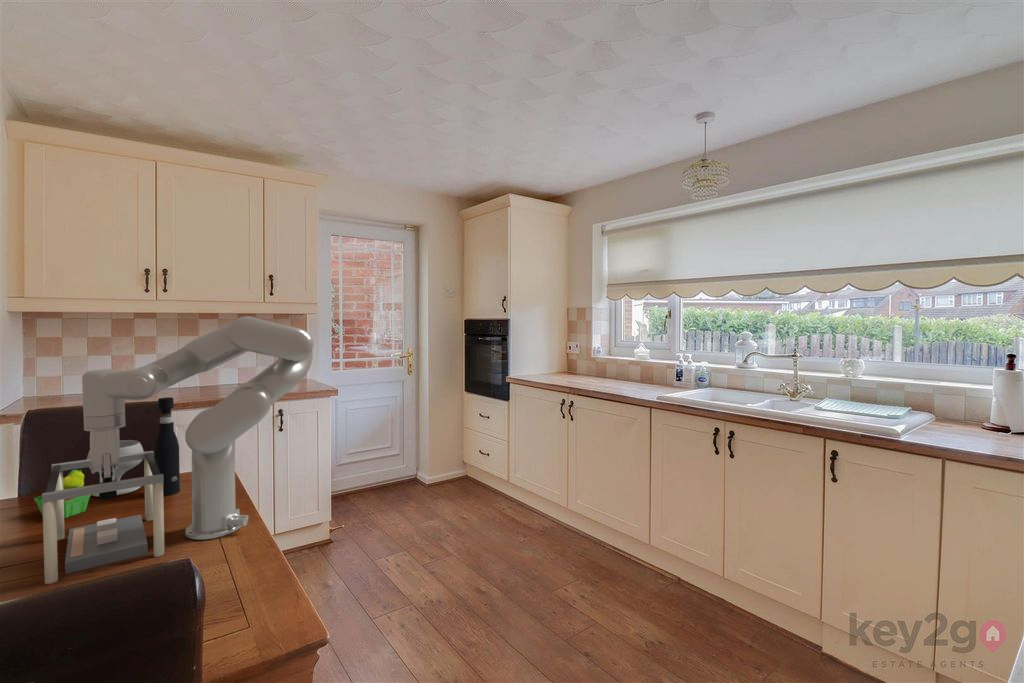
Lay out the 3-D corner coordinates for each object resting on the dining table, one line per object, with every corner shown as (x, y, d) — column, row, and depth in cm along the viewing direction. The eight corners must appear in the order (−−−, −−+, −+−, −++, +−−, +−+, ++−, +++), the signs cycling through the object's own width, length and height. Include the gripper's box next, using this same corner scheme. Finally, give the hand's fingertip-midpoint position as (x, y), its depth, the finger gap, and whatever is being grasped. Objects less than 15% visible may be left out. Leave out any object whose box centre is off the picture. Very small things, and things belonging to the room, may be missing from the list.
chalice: (112, 501, 144) (111, 451, 143) (75, 497, 146) (73, 448, 146) (155, 485, 157) (154, 440, 157) (120, 482, 160) (119, 438, 160)
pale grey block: (97, 539, 111) (96, 532, 111) (117, 535, 113) (117, 528, 113) (97, 545, 110) (97, 537, 109) (117, 540, 112) (117, 533, 112)
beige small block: (97, 528, 117) (97, 521, 117) (116, 524, 119) (116, 517, 119) (97, 533, 116) (97, 526, 115) (116, 529, 118) (116, 522, 118)
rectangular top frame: (52, 470, 118) (51, 463, 118) (152, 456, 131) (152, 450, 131) (42, 503, 97) (41, 495, 97) (163, 482, 110) (163, 475, 110)
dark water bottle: (159, 490, 153) (157, 397, 152) (182, 488, 155) (181, 396, 154) (151, 497, 147) (149, 400, 146) (175, 495, 149) (173, 399, 147)
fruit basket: (32, 516, 132) (31, 476, 131) (68, 504, 140) (67, 466, 140) (63, 520, 129) (62, 479, 129) (98, 508, 138) (97, 469, 137)
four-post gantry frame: (53, 538, 119) (52, 470, 118) (154, 517, 132) (152, 456, 131) (44, 585, 98) (42, 503, 97) (164, 554, 111) (163, 482, 110)
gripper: (84, 419, 117) (87, 493, 118) (83, 429, 106) (86, 511, 106) (124, 415, 122) (126, 486, 123) (126, 424, 110) (129, 502, 111)
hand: (108, 497), depth 114 cm, fingers closed
